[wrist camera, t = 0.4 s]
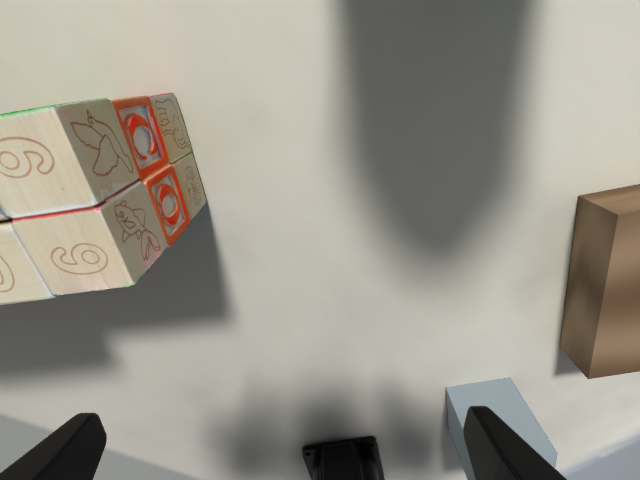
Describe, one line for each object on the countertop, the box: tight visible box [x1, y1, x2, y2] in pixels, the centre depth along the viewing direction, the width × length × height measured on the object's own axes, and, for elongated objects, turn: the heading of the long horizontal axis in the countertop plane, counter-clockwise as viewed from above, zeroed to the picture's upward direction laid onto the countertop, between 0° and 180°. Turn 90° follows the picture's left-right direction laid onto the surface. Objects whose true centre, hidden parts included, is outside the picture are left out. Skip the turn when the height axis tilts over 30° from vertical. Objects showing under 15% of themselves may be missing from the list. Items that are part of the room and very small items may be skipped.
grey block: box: [446, 378, 557, 480], centre depth 26 cm, size 5×5×6 cm
